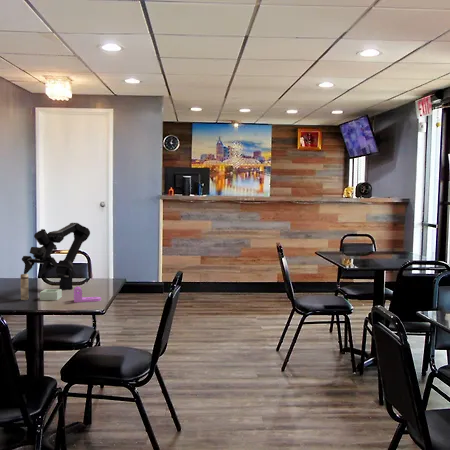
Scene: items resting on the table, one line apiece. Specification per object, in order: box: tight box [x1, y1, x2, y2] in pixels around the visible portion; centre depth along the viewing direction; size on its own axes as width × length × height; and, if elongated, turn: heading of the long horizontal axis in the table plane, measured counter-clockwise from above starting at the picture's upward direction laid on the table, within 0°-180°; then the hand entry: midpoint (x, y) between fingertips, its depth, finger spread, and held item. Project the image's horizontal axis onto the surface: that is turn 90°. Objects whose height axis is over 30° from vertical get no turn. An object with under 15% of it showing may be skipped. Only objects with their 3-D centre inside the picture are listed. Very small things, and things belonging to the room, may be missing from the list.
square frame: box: [39, 288, 63, 301], centre depth 255 cm, size 8×8×4 cm
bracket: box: [73, 286, 102, 303], centre depth 251 cm, size 13×6×7 cm, turn 108°
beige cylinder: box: [20, 273, 29, 301], centre depth 252 cm, size 4×4×12 cm
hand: (31, 274), depth 257 cm, fingers open, 9 cm apart
